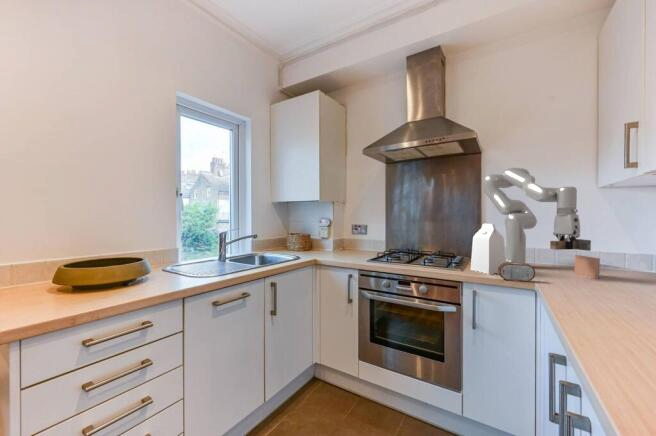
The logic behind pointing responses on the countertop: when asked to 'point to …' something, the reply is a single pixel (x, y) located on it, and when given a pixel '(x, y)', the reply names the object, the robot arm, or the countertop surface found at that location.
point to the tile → (587, 266)
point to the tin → (516, 271)
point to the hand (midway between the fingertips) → (565, 248)
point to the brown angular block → (577, 244)
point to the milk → (487, 250)
